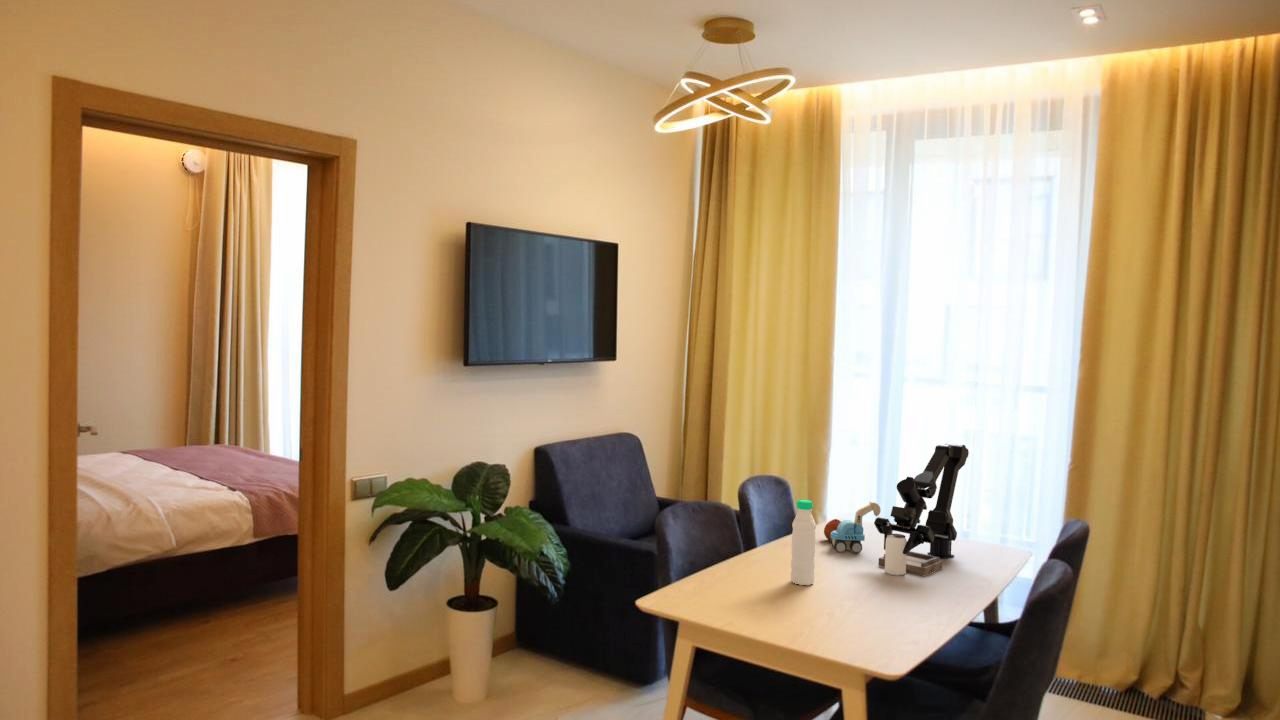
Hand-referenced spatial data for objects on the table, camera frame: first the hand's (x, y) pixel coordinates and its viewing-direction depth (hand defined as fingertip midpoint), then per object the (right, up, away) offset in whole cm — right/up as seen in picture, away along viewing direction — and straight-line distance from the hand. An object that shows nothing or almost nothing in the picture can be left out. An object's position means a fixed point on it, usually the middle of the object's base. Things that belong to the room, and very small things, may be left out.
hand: (894, 551), depth 287 cm
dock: (+8, -7, +8) cm, 13 cm away
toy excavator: (-6, -6, +29) cm, 30 cm away
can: (+1, -7, +1) cm, 7 cm away
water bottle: (-31, -7, -12) cm, 34 cm away
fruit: (-9, -5, +42) cm, 43 cm away
